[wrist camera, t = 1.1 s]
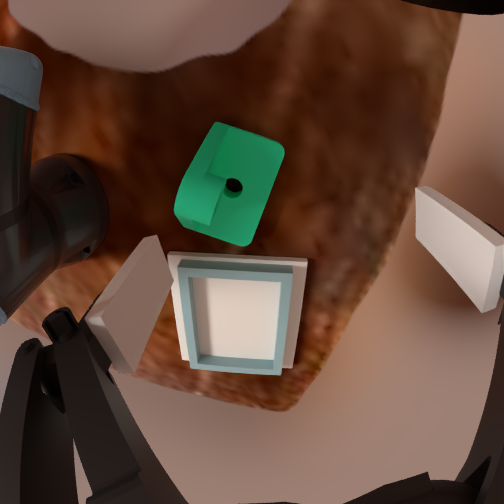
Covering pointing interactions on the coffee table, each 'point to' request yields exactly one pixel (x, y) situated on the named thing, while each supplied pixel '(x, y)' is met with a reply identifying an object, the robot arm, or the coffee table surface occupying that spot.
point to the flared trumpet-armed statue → (464, 6)
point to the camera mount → (214, 184)
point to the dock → (237, 310)
